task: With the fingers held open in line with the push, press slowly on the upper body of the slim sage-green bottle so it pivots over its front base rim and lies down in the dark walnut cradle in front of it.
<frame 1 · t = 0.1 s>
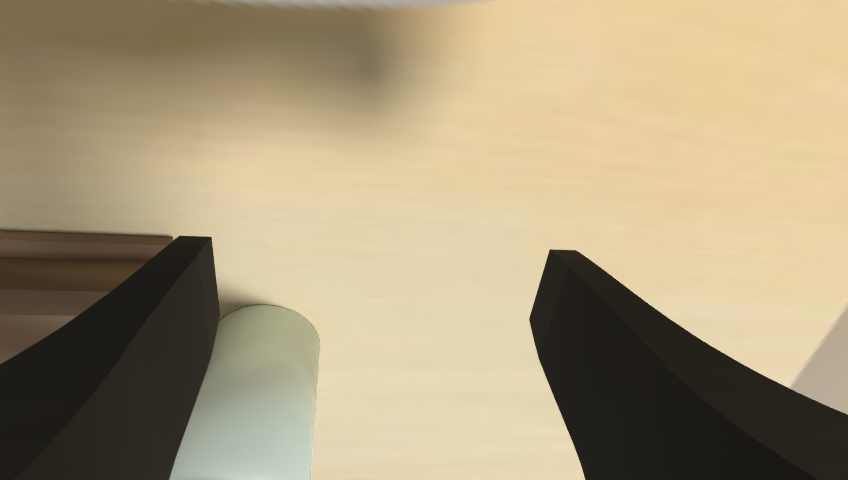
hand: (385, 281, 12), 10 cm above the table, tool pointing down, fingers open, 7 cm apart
sage bottle: (266, 345, 26), on the table
walnut cradle: (48, 344, 24), on the table
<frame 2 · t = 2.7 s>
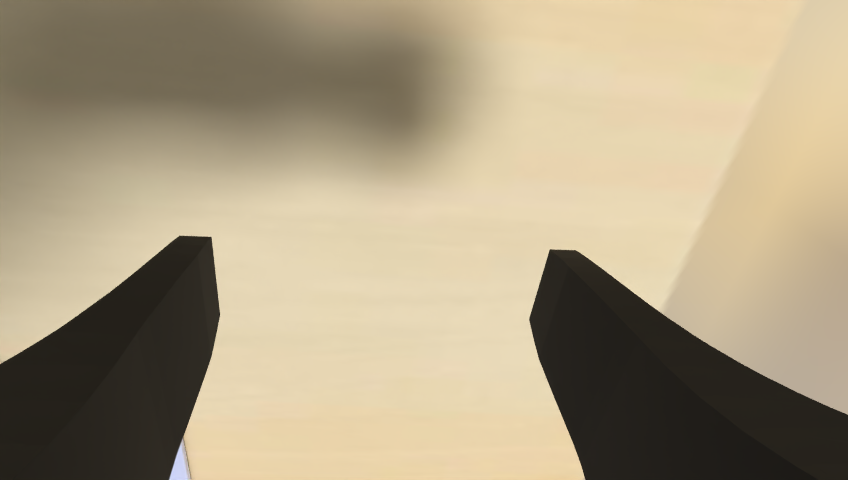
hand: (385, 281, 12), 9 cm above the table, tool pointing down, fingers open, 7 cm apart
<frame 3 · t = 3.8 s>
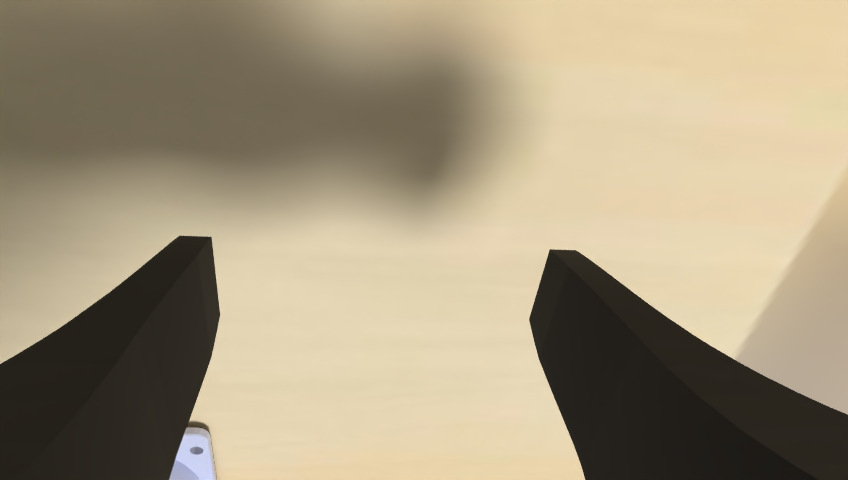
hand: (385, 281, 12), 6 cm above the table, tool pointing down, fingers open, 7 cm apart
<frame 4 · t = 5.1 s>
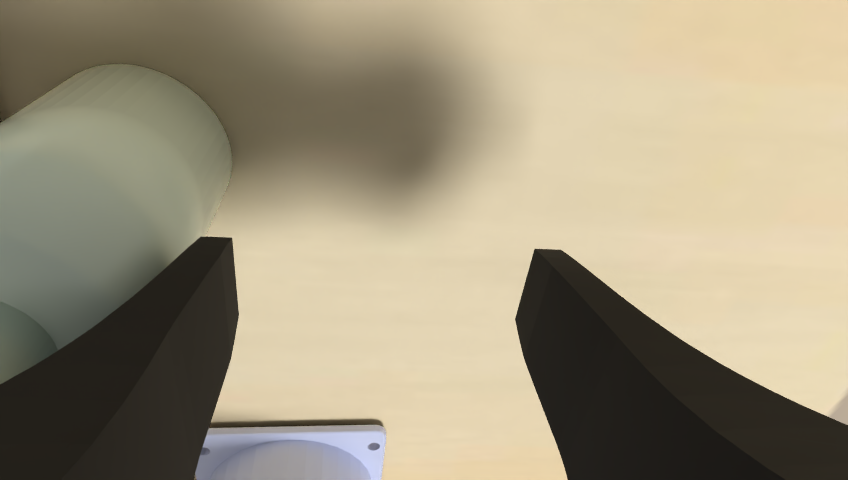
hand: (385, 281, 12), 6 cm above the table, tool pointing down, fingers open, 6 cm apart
sage bottle: (142, 151, 15), on the table, touching gripper
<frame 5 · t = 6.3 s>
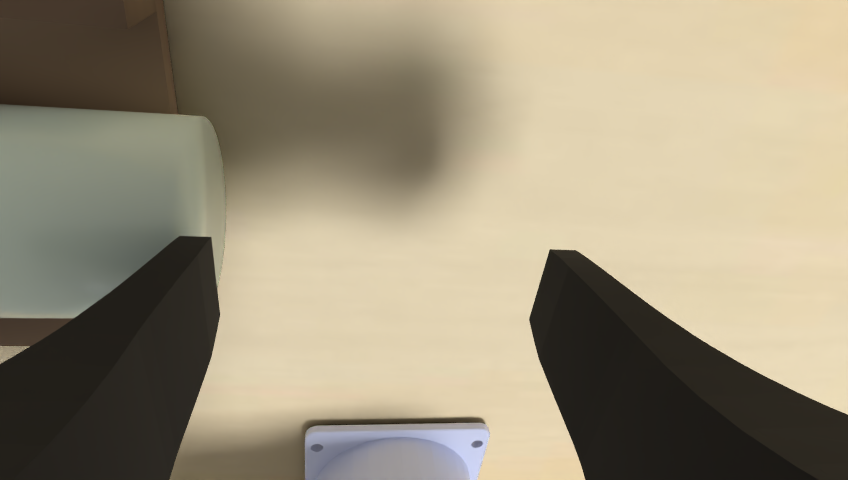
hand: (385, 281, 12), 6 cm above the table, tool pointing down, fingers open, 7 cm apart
sage bottle: (204, 218, 13), point 3 cm above the table, tilted 90°, touching walnut cradle
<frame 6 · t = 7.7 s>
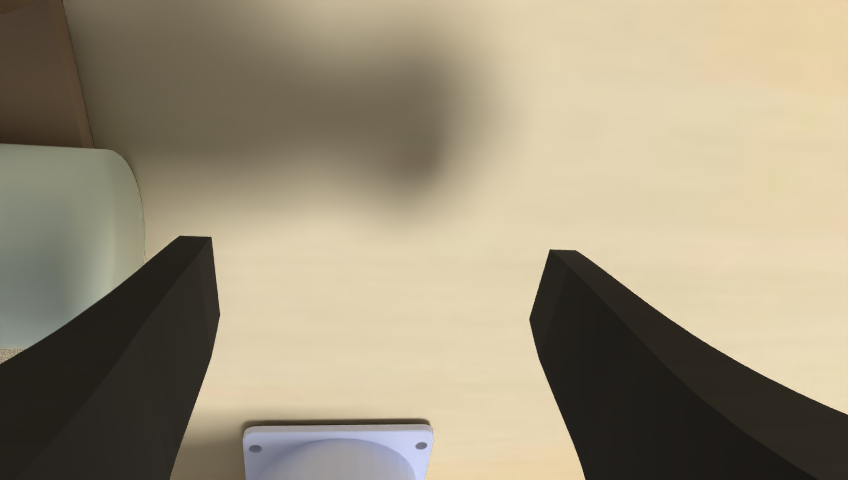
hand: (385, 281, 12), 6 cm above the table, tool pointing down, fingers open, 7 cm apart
sage bottle: (109, 249, 14), point 3 cm above the table, tilted 90°, touching walnut cradle
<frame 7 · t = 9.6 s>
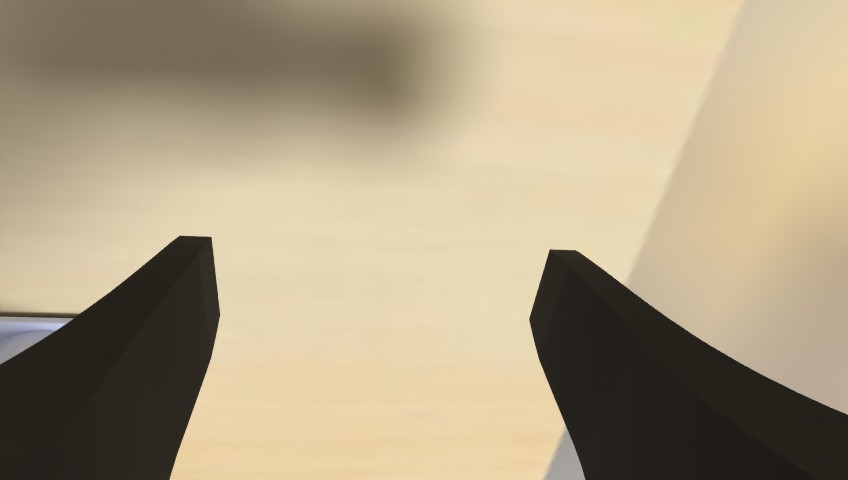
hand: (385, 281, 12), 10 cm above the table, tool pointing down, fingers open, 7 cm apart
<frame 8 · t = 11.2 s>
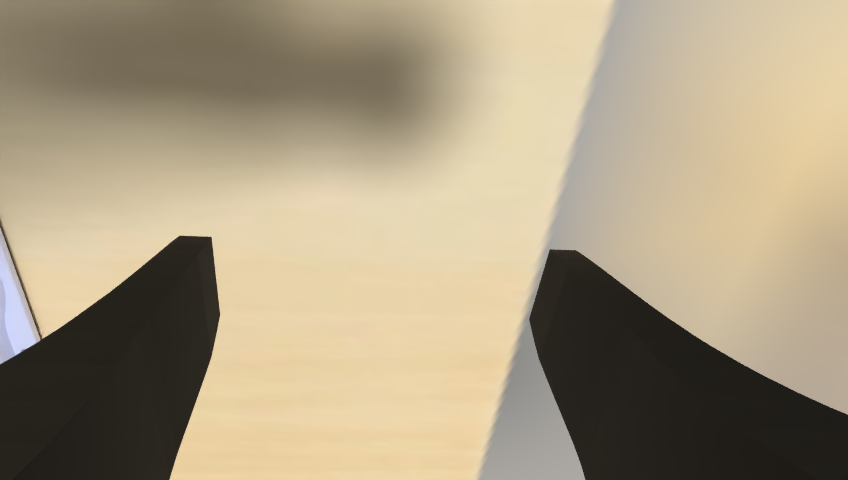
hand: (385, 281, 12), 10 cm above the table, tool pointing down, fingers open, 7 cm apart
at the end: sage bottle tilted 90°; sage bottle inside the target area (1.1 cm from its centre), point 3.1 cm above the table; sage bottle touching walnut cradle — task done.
